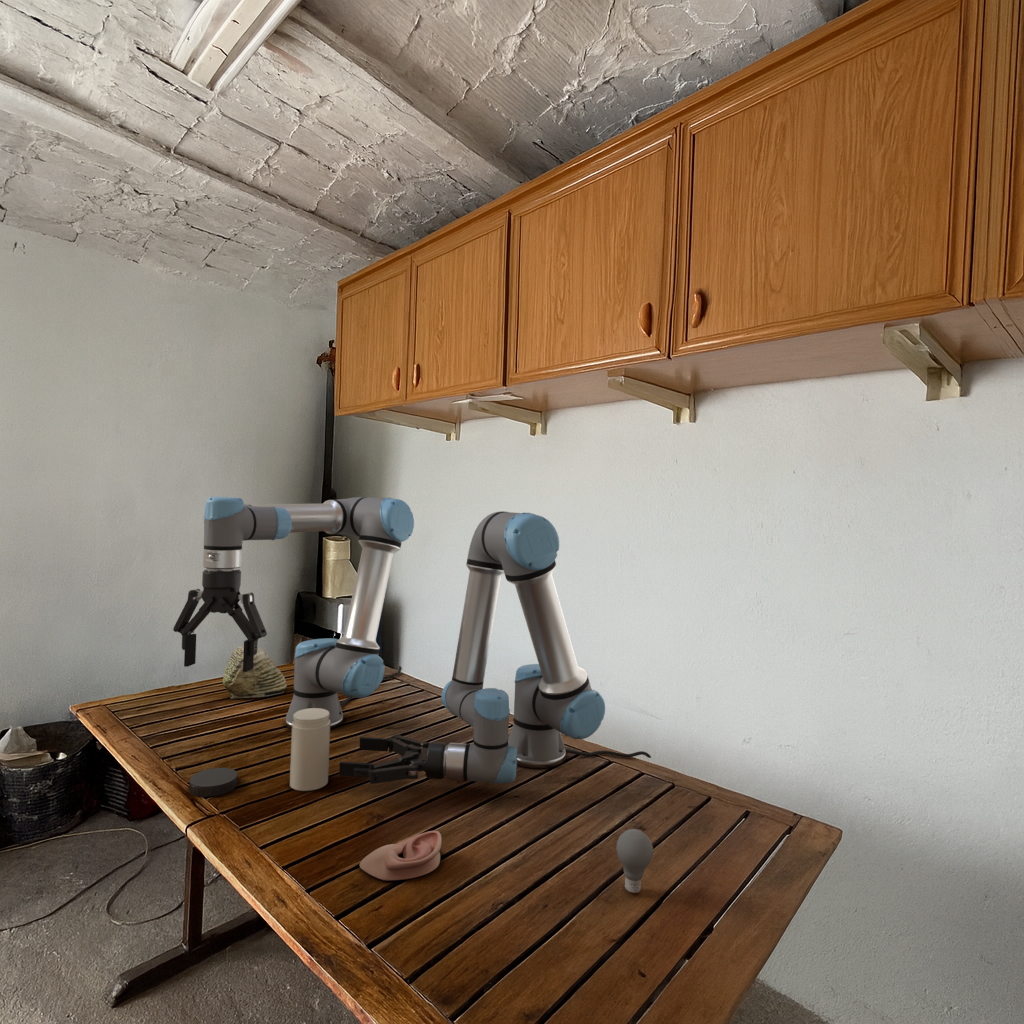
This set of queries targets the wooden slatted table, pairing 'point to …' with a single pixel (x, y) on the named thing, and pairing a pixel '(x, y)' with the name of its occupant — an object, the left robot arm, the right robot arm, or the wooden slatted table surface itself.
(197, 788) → the lid
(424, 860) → the anatomical model
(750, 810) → the wooden slatted table surface
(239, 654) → the fossil
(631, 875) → the light bulb
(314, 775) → the jar
